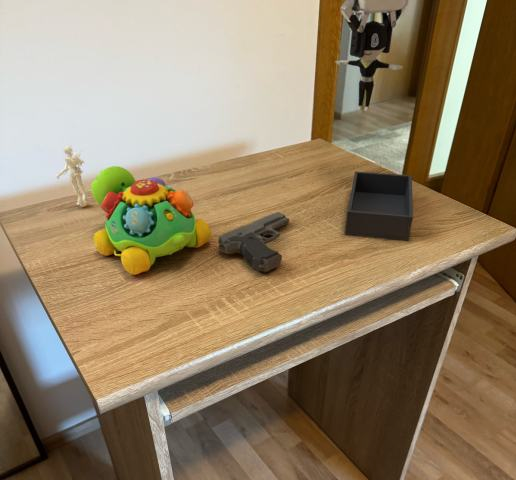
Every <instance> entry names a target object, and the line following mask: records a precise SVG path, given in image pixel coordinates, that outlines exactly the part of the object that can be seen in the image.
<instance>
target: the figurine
mask: <svg viewBox="0 0 516 480" xmlns="http://www.w3.org/2000/svg"><path fill="white" fill-rule="evenodd" d="M73 151H74V149H73V148H72V145H66V146H63V149H62V152H63V153H64V155H65V156H66V157H63V160H65V164H64V168H63V169H62V170H61V171H60V172H58V173H57V174H56V176H55V177H56V179H58V180H59V179H60V177H61V176H62V175H66V174H67V173H68V174H69V181H70V183H71V185H72V188H73V190H74V192H75V194H76V196H77V202H76V203H75V204H76V205H77V206H80V207H81V208H85V207H87V206H88V202H89V200H88V199H89V195H88V190H89V189H88V187H87V186H85V185H84V184H83V182H82V181H83V180H82V174H83V173H84V171H83V170H82V168H81V167H82V164H85V162H84V160H83V158H80V156H81V154H82V150H80V152H79V153H78V154H77V152H78V151H75V152H73Z"/></svg>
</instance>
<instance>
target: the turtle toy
mask: <svg viewBox="0 0 516 480" xmlns="http://www.w3.org/2000/svg"><path fill="white" fill-rule="evenodd" d="M90 192H91V194H92V197H93V199H94V201H95V202H96V203H97V204H98V205H99V206H100V208H101V210H102V211H104V212H105V213H107V214H106V215H105V218H106V222H105V225H104V227H105V228H103V229H101V230H98V231H96V232H95V233H94V235H93V243H94V245H95V247H96V250H97V251H98V252H99V253H100V254H101V255H102V256H110V255H111V256H112V255H113V254H114V256H116V257H120V261H121V264H122V267H123V268H124V269H125V271H126V272H127V273H128V274H130V275H135V276H136V275H139V274H141V273H145V272H148V271H149V270H150V268H151V267H152V266H153V265H154V263H155V262H156V258H158V257H164V256H171V255H173V253H177V252H178V251H180V250H183V249H184V247H187V248H195V249H197V248H200V247H202V246H203V245H205V244H207V243H209V242H210V240H211V238H212V230H211V228H210V225H209V224H208V222H206V221H205V220H204V219H201V218H199V219H198V218H197V219H196V216H195V213H193V212H192V208H193V207H194V204H195V203H194V200H193V198H192V197H191V195H190V194H189V193H188V192H186V191H185V190H181V189H180V190H179V191H177V190H175V189H174V188H173V187H171V186H167V185H166V182H165V181H164V180H163V179H161V178H159V177H149V178H148V179H141V180H136V179H135V177H134V175H133V174H132V173H131V172H130V171H129V170H128V169H126V168H124V167H122V166H119V165H118V166H115V165H113V166H108V167H106V168H105V169H103V170H101V171H100V172H99V173H98V175H97V177H96V178H95V179H94V180H93V181H92V183H91V185H90ZM118 252H121V253H118Z"/></svg>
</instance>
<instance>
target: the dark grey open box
mask: <svg viewBox="0 0 516 480" xmlns="http://www.w3.org/2000/svg"><path fill="white" fill-rule="evenodd" d="M413 201H414V200H413V175H412V174H411V175H410V174H397V173H382V172H368V171H359V170H358V171H356V170H355V171H354V174H353V179H352V183H351V189H350V194H349V199H348V206H347V211H346V219H345V227H344V235H346V236H357V237H369V238H378V239H390V240H397V241H398V240H399V241H409V237H410V235H411V230H412V225H413V224H412V223H413V220H414V205H413V204H414V203H413Z"/></svg>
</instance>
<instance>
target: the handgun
mask: <svg viewBox="0 0 516 480" xmlns="http://www.w3.org/2000/svg"><path fill="white" fill-rule="evenodd" d="M288 223H290V218H289V217H287V216H286V214H284V213H281V212H279V211H277V212H275V213H271V214H269V215H266V216H263V217H261V218H260V219H257V220H254V221H253V222H250V223H249V224H246V225H242V226H239V227H237V228H235V229H233V230H230V231H228V232H225V233H223V234H221V235H218V249H219V250H220V251H221V253H222V254H223V253H225V254H227V255H229V254H231V255H232V254H236V253H237V254H240V255H243V258H244V261H246V263H247V264H248V265H249V266H250V267H252V268H253V270H256V271H257V272H261V273H268V272H269V271H271V270H272V271H273V270H274V269H276V268H277V267H279V266H280V265H281V263H282V259H283V255H282V254H281V253H280V252H279V251H276V250H274V249H272V248H270V247H269V246H268V245H267V244H269V243H272V242H274V241H276V240H277V239H278V238H279V237H280V236H281V233H280V231H277V229H279V228H281V227H283V226H284V225H287V224H288ZM267 235H272V236H271V237H265V236H267Z"/></svg>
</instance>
